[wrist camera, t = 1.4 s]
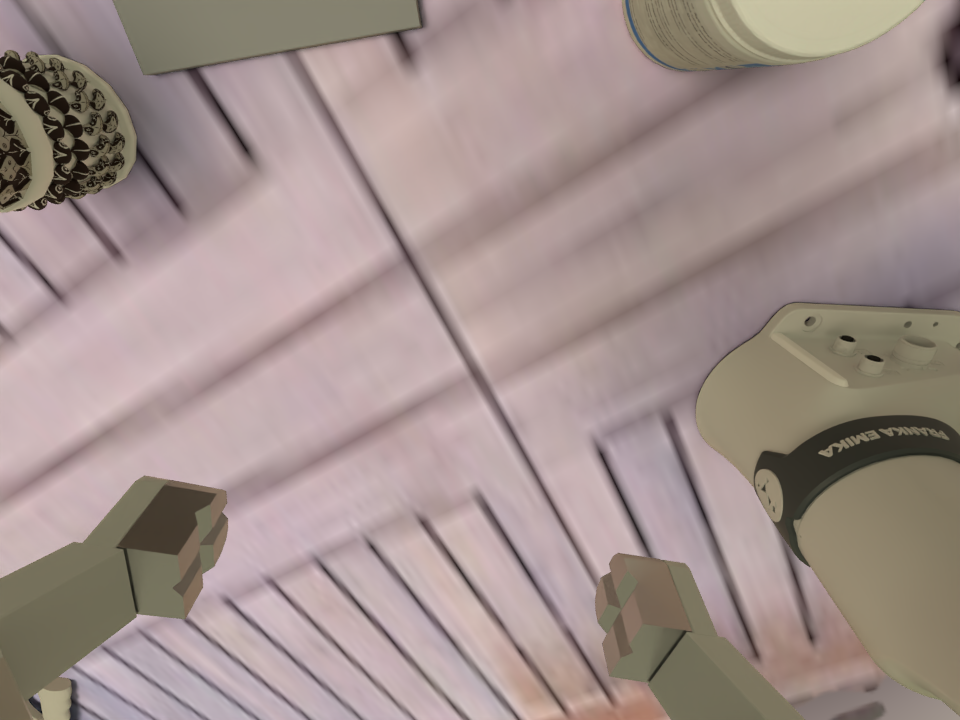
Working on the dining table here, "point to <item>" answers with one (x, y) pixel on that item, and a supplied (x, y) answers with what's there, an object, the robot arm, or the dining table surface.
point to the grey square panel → (250, 27)
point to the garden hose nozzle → (53, 701)
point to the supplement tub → (756, 30)
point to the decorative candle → (59, 132)
